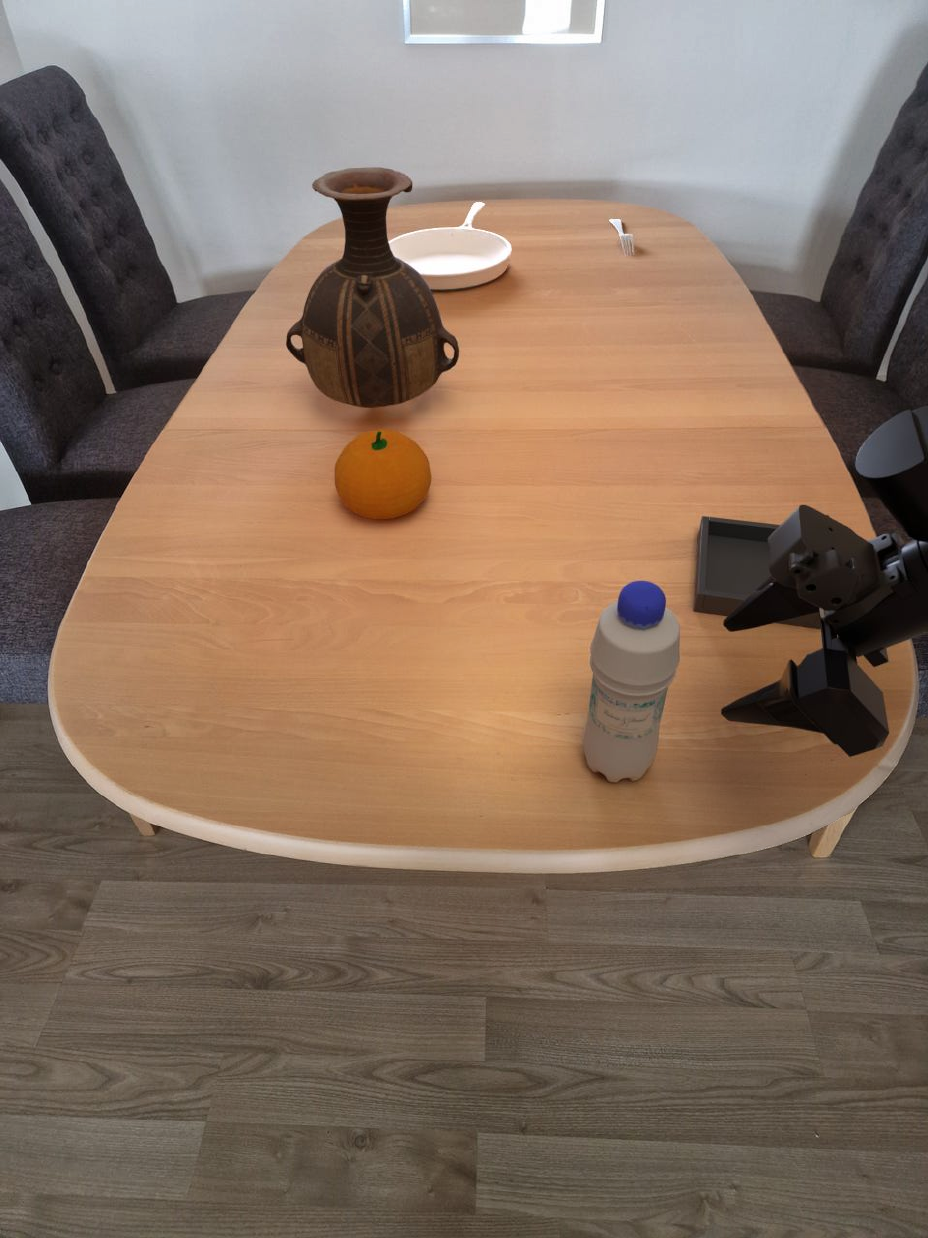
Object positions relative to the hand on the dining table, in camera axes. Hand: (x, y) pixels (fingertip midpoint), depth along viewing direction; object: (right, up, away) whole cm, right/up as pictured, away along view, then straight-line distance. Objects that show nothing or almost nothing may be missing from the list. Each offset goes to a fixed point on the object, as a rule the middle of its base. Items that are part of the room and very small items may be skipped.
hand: (725, 668), depth 60 cm
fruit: (-29, +18, +40) cm, 53 cm away
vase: (-31, +35, +57) cm, 74 cm away
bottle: (-6, -9, +11) cm, 15 cm away
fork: (+13, +82, +104) cm, 133 cm away
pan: (-21, +75, +99) cm, 126 cm away
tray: (+12, +8, +27) cm, 31 cm away
